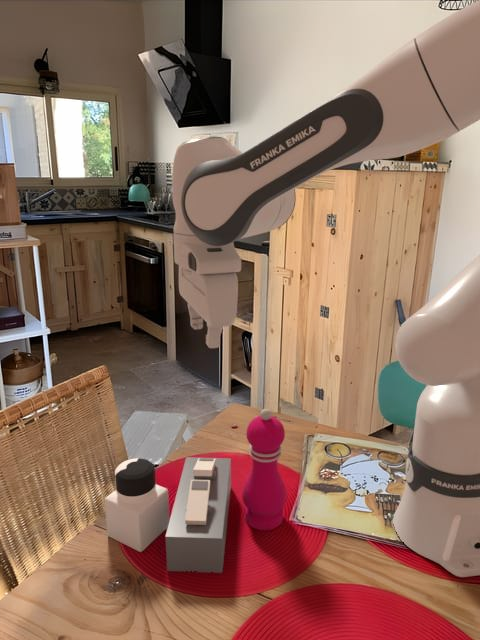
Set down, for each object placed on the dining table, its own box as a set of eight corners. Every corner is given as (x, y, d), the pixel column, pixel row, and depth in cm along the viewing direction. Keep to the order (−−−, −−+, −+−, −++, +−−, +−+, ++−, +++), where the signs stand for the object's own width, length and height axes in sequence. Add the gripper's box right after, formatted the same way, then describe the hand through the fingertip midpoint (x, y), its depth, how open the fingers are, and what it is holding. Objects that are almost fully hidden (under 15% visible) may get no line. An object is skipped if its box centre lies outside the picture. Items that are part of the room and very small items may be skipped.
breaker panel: (230, 487, 91) (230, 454, 89) (222, 572, 72) (222, 533, 69) (187, 485, 91) (186, 453, 89) (167, 571, 72) (165, 531, 70)
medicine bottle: (170, 525, 81) (167, 461, 77) (141, 553, 75) (136, 485, 72) (137, 510, 84) (133, 448, 81) (106, 536, 79) (100, 470, 75)
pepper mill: (283, 536, 79) (286, 423, 73) (238, 529, 80) (238, 418, 74) (288, 506, 85) (291, 401, 79) (246, 501, 87) (247, 397, 81)
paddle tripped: (215, 464, 87) (215, 457, 87) (211, 476, 80) (211, 469, 80) (198, 463, 87) (198, 457, 87) (193, 475, 80) (193, 468, 80)
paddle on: (210, 484, 78) (210, 479, 77) (206, 525, 72) (205, 520, 71) (191, 483, 78) (190, 479, 77) (185, 524, 72) (184, 519, 71)
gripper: (168, 241, 84) (171, 319, 88) (201, 264, 66) (202, 362, 70) (204, 240, 86) (205, 316, 90) (246, 262, 68) (244, 356, 72)
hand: (204, 336), depth 80 cm, fingers open, 8 cm apart
